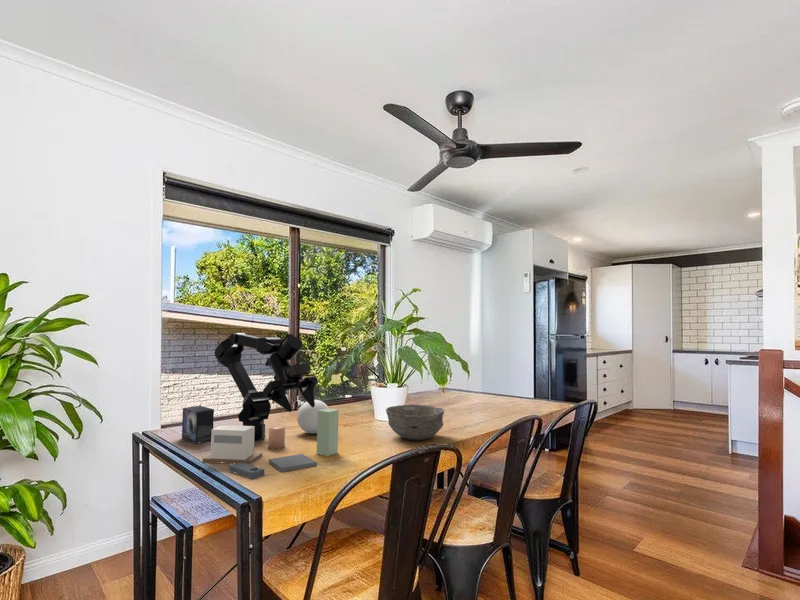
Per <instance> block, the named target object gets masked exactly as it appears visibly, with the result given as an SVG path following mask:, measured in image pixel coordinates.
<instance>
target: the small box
mask: <svg viewBox="0 0 800 600" xmlns="http://www.w3.org/2000/svg"><path fill="white" fill-rule="evenodd" d="M214 415H215V409H214V408H210V407H207V406H203V405H196V406H195V405H194V406H188V407H183V408H182V420H181V421H182V423H181V424H182V425H181V439H183V438H184V439H183V440H185V439H186V441H188V440H189V441H188V442H190V441H191V442H190V443H193V442H194V443H193V444H195V443H197V444H200V443H199V442H202V443H206V441H207V442H211V432H212V429H214V419H215V417H214Z"/></svg>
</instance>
